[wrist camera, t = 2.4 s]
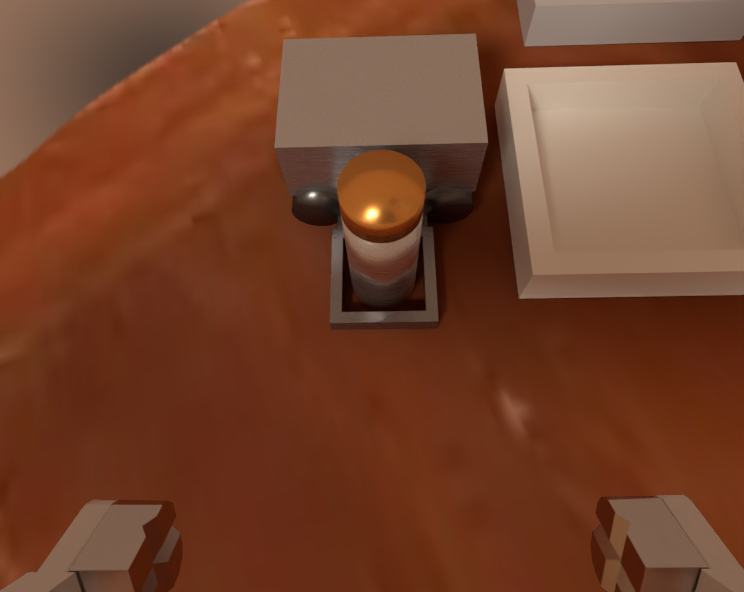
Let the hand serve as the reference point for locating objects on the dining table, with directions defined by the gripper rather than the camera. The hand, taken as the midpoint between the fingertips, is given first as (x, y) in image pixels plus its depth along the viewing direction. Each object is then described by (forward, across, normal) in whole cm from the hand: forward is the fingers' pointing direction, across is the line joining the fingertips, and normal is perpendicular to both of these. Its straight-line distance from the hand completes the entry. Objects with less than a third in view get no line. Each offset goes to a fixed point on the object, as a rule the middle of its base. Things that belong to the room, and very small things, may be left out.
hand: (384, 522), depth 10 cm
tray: (+23, -14, -2) cm, 27 cm away
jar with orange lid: (+19, 0, +2) cm, 19 cm away
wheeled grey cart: (+22, 0, -1) cm, 22 cm away
